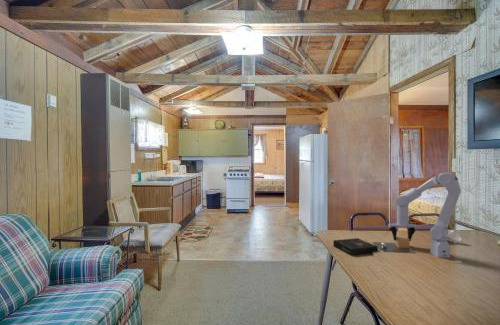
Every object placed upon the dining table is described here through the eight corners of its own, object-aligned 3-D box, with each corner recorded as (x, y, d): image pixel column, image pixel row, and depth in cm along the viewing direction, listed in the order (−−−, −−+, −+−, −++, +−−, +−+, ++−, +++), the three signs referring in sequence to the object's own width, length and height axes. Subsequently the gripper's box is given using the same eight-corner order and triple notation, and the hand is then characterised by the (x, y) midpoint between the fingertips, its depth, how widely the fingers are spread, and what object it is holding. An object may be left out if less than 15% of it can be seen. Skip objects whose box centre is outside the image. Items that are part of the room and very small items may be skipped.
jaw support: (449, 234, 183) (455, 226, 176) (454, 247, 177) (461, 239, 170) (429, 233, 184) (434, 226, 177) (434, 246, 178) (440, 239, 171)
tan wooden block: (409, 247, 161) (409, 239, 161) (398, 247, 162) (398, 238, 162) (405, 244, 167) (405, 236, 167) (395, 244, 168) (395, 235, 168)
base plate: (416, 255, 152) (416, 248, 152) (380, 253, 155) (380, 247, 155) (403, 245, 170) (403, 239, 170) (371, 243, 173) (371, 237, 173)
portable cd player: (378, 253, 156) (378, 246, 156) (351, 256, 151) (351, 249, 151) (358, 244, 172) (358, 238, 172) (333, 247, 167) (333, 240, 167)
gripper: (413, 215, 167) (412, 239, 168) (386, 214, 169) (386, 237, 170) (418, 218, 160) (418, 242, 161) (390, 217, 162) (390, 241, 163)
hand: (402, 240), depth 165 cm, fingers open, 7 cm apart
